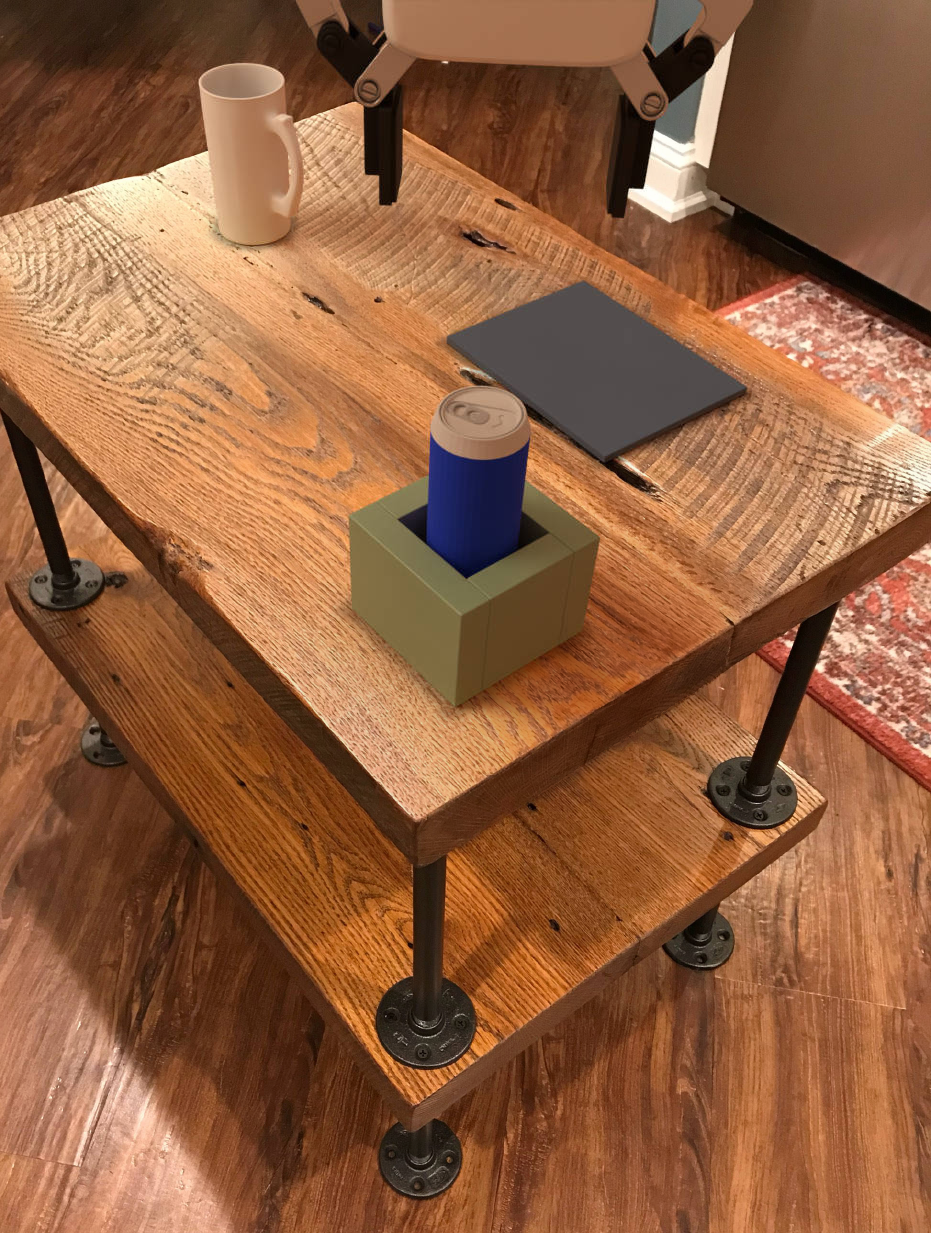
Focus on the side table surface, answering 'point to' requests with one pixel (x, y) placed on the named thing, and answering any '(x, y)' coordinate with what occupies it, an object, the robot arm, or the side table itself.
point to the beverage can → (476, 477)
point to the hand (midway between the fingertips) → (502, 196)
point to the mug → (251, 152)
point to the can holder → (469, 591)
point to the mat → (596, 369)
